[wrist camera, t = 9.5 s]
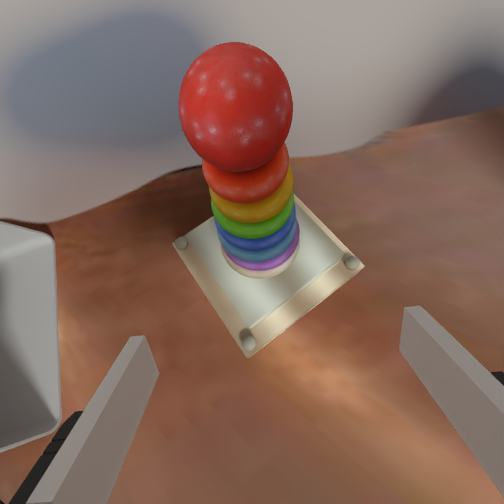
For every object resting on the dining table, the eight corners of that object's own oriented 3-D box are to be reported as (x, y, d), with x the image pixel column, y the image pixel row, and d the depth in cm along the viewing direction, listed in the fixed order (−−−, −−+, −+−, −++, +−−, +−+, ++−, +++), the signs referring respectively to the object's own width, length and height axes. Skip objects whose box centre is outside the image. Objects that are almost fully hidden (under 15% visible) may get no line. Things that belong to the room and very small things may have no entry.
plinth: (275, 188, 36) (274, 158, 31) (356, 273, 31) (374, 256, 25) (180, 252, 34) (161, 233, 28) (250, 357, 28) (243, 358, 23)
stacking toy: (213, 227, 28) (109, 25, 11) (280, 201, 28) (284, -34, 11) (238, 293, 25) (148, 161, 8) (312, 263, 26) (385, 73, 8)
